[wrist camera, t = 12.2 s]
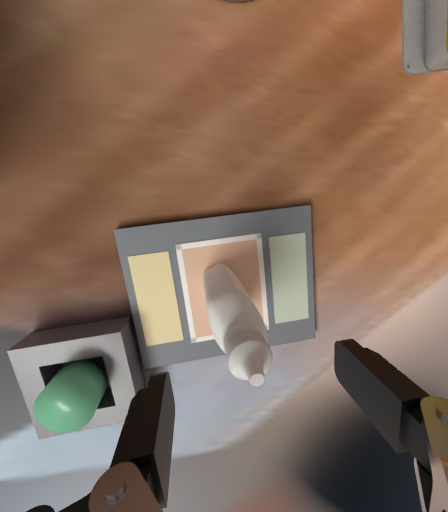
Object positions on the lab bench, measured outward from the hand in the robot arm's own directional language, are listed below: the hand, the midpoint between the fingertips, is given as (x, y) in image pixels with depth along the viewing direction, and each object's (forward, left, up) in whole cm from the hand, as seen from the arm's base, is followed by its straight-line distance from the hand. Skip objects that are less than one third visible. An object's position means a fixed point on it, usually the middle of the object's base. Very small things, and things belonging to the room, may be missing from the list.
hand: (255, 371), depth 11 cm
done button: (+6, -14, -10) cm, 18 cm away
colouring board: (0, 0, -13) cm, 13 cm away
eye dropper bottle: (0, 0, -12) cm, 12 cm away
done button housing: (+6, -14, -13) cm, 20 cm away
